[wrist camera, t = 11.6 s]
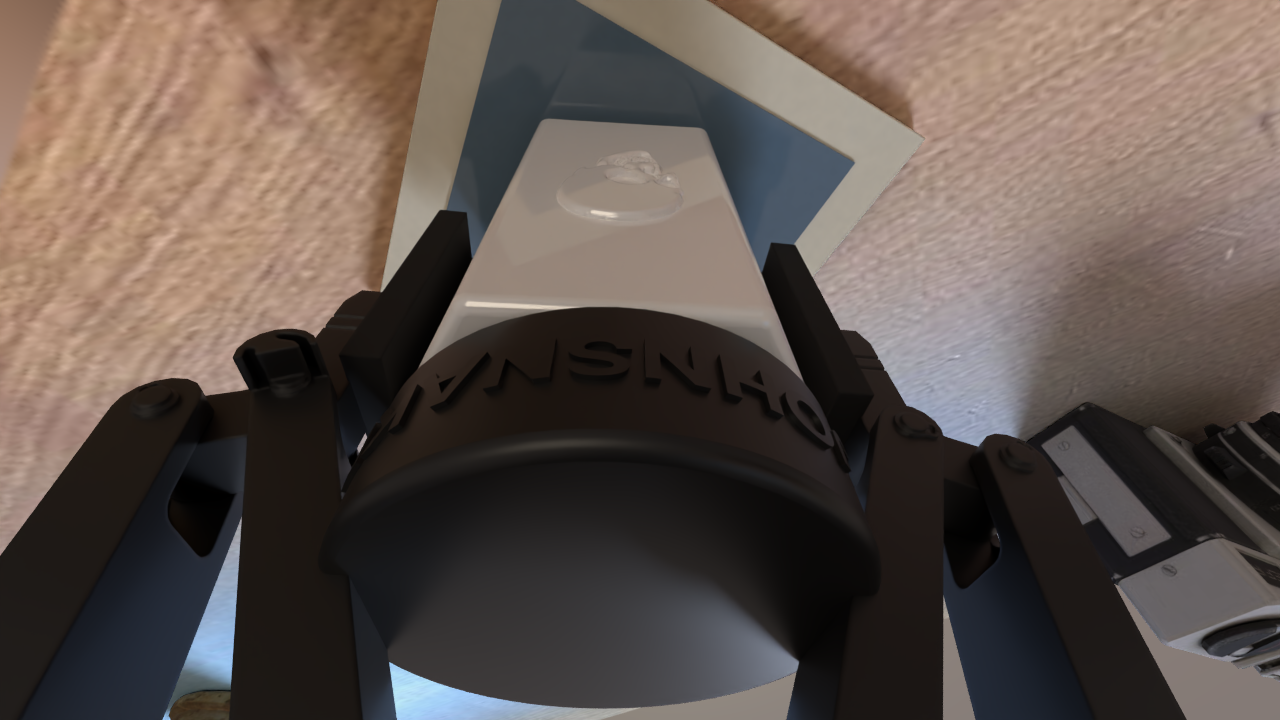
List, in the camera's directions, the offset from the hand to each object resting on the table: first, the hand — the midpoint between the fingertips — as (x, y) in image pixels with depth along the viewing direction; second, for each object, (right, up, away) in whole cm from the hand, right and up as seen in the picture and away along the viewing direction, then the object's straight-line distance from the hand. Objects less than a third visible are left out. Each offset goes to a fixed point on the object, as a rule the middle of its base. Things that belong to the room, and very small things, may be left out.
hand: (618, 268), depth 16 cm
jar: (0, +1, +1) cm, 2 cm away
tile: (0, +2, +2) cm, 3 cm away
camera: (+28, -7, +11) cm, 31 cm away
